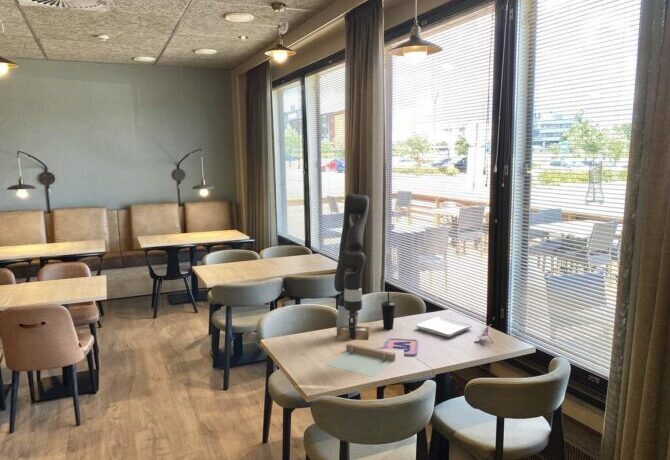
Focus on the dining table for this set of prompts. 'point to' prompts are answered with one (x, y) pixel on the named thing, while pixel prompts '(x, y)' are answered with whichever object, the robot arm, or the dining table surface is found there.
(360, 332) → the frame
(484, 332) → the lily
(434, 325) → the salad plate
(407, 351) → the icon
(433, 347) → the dining table surface
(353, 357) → the wall panel
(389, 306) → the drinking cup
